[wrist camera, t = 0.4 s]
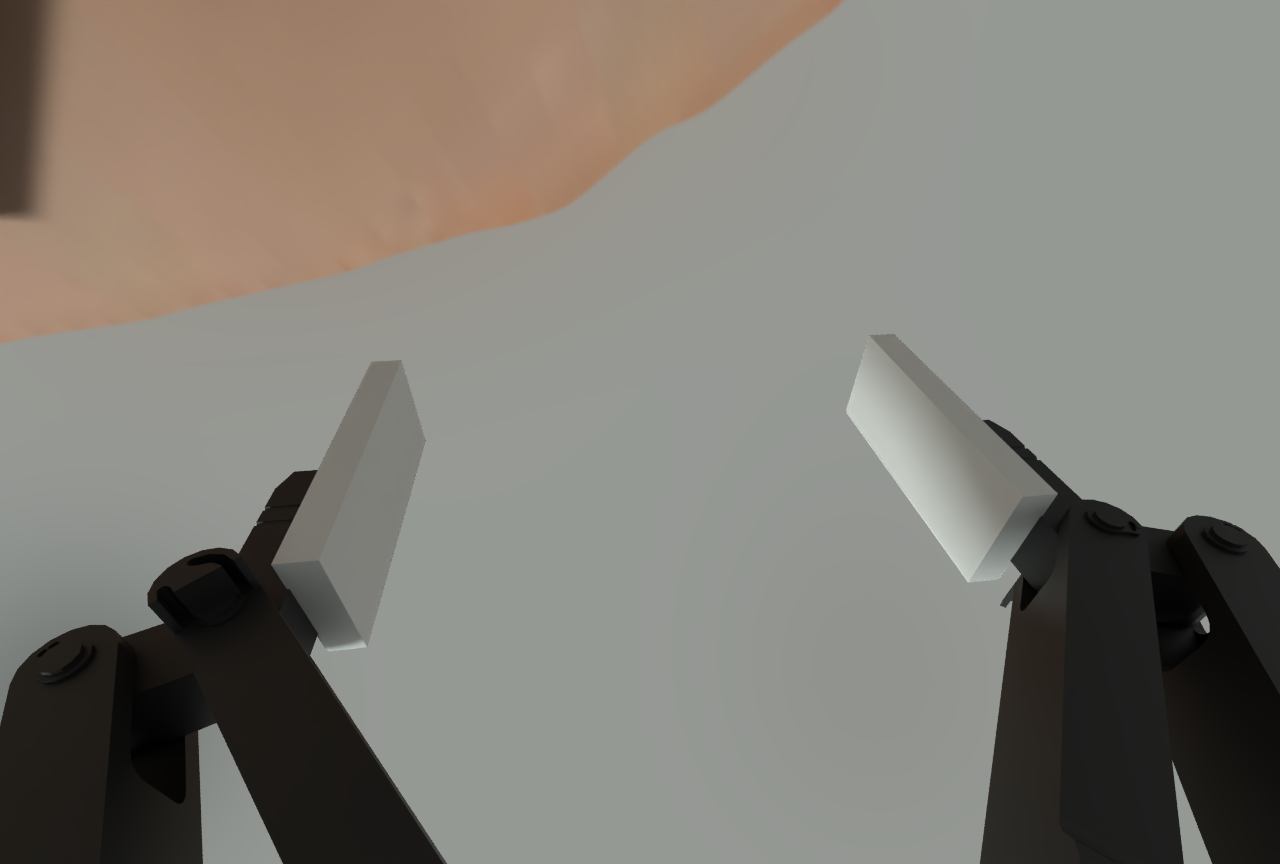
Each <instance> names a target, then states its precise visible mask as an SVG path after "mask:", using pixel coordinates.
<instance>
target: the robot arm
mask: <svg viewBox="0 0 1280 864" xmlns="http://www.w3.org/2000/svg"><path fill="white" fill-rule="evenodd" d="M846 413H847V414H848V415H849V417H850V418H851V420H852V421H853V422H854V424H855V425H856V427H857V428H858V429H859V431H860V432H861V433H862V435H863V436H864V438H865V439H866V440H867V442H868V443H869V445H870V446H871V448H872V449H873V450H874V452H875V453H876V454H877V456H878V457H879V459H880V460H881V462H882V463H883V464H884V466H885V467H886V469H887V470H888V471H889V473H890V474H891V475H892V477H893V478H894V479H895V481H896V482H897V484H898V485H899V487H900V488H901V489H902V491H903V492H904V494H905V495H906V496H907V498H908V499H909V501H910V502H911V503H912V505H913V506H914V508H915V509H916V510H917V512H918V513H919V514H920V516H921V517H922V519H923V520H924V522H925V523H926V524H927V526H928V527H929V529H930V530H931V531H932V533H933V534H934V536H935V537H936V538H937V540H938V541H939V543H940V544H941V545H942V547H943V548H944V549H945V551H946V552H947V554H948V555H949V556H950V558H951V559H952V561H953V562H954V563H955V565H956V566H957V568H958V569H959V570H960V572H961V573H962V575H963V576H964V577H965V579H966V580H967V582H978V581H988V580H997V579H1000V577H1001V576H1002V574H1003V573H1004V571H1005V570H1006V569H1007V567H1008V566H1009V564H1010V563H1011V562H1012V563H1013V564H1014V566H1015V567H1016V568H1017V569H1018V570H1019V572H1020V573H1021V575H1020V577H1019V578H1018V579H1017V581H1016V582H1015V584H1014V585H1013V586H1012V588H1011V589H1010V591H1009V592H1008V593H1007V595H1006V596H1005V598H1004V599H1003V601H1002V603H1001V606H1003V607H1006V606H1007V605H1008V604H1009V602H1010V601H1013V603H1012V611H1011V618H1010V627H1009V634H1008V643H1007V650H1006V659H1005V667H1004V674H1003V683H1002V690H1001V699H1000V707H999V715H998V723H997V731H996V739H995V747H994V755H993V763H992V772H991V779H990V787H989V795H988V804H987V811H986V819H985V827H984V835H983V843H982V851H981V860H980V864H1184V862H1183V853H1182V844H1181V835H1180V826H1179V818H1178V810H1177V800H1176V791H1175V783H1174V774H1173V766H1172V761H1173V763H1174V766H1175V768H1176V771H1177V774H1178V776H1179V779H1180V781H1181V784H1182V787H1183V789H1184V792H1185V794H1186V797H1187V800H1188V802H1189V804H1190V807H1191V810H1192V812H1193V815H1194V818H1195V820H1196V822H1197V825H1198V828H1199V831H1200V833H1201V836H1202V838H1203V841H1204V844H1205V846H1206V849H1207V851H1208V854H1209V856H1210V859H1211V862H1212V864H1280V568H1279V567H1278V566H1277V564H1276V563H1275V561H1274V560H1273V559H1272V557H1271V556H1270V554H1269V553H1268V552H1267V550H1266V549H1265V548H1264V547H1263V546H1262V545H1261V544H1260V542H1258V541H1257V540H1256V538H1254V537H1252V536H1251V535H1250V534H1248V533H1246V532H1245V531H1244V530H1243V529H1241V528H1239V527H1237V526H1236V525H1233V524H1231V523H1229V522H1226V521H1222V520H1219V519H1216V518H1212V517H1207V516H1198V515H1196V516H1191V517H1187V518H1186V519H1185V520H1184V521H1183V522H1182V524H1181V525H1180V526H1179V527H1178V528H1177V529H1176V530H1175V531H1169V530H1163V529H1156V528H1149V527H1143V526H1141V525H1140V524H1139V523H1138V522H1137V521H1136V520H1135V519H1134V518H1133V517H1132V516H1130V515H1129V514H1127V513H1126V512H1124V511H1123V510H1121V509H1119V508H1117V507H1114V506H1112V505H1110V504H1107V503H1104V502H1100V501H1096V500H1082V499H1081V498H1080V497H1079V496H1078V495H1077V494H1076V493H1074V492H1073V491H1072V490H1071V489H1070V488H1069V487H1068V486H1067V485H1066V484H1065V483H1064V482H1063V481H1062V480H1061V479H1060V478H1058V477H1057V476H1056V475H1055V474H1054V473H1053V472H1052V471H1051V470H1050V469H1049V468H1048V467H1047V466H1046V465H1045V464H1044V463H1042V462H1041V461H1040V460H1037V457H1036V456H1035V455H1034V454H1033V453H1032V452H1031V451H1030V450H1029V449H1025V446H1024V445H1023V444H1022V443H1021V442H1020V441H1019V440H1018V439H1017V438H1016V437H1015V436H1014V435H1013V434H1012V433H1011V432H1009V431H1008V430H1006V429H1004V428H1003V427H1001V426H999V425H997V424H995V423H994V422H992V421H990V420H981V418H980V417H978V416H977V415H976V414H975V413H974V412H973V411H972V410H971V409H970V408H969V407H968V406H967V405H966V404H965V403H964V402H963V401H962V400H961V399H960V398H959V397H958V396H957V395H956V394H955V393H954V392H953V391H952V390H951V389H950V388H949V387H948V386H947V385H945V383H943V381H942V380H941V379H939V378H938V377H937V376H936V375H935V374H934V373H933V372H932V371H931V370H930V369H929V368H928V367H927V366H926V365H925V364H924V363H923V362H922V361H921V360H920V359H919V358H918V357H917V356H916V355H915V354H914V353H913V352H912V351H911V350H910V349H909V348H908V347H907V346H906V345H905V344H904V343H902V341H900V340H899V339H898V338H897V337H896V336H895V335H894V334H886V335H869V338H868V341H867V344H866V347H865V351H864V354H863V357H862V361H861V364H860V367H859V370H858V373H857V377H856V380H855V383H854V387H853V390H852V393H851V396H850V400H849V403H848V406H847V410H846ZM424 444H425V437H424V434H423V430H422V427H421V424H420V420H419V417H418V414H417V410H416V407H415V404H414V400H413V397H412V394H411V391H410V387H409V384H408V380H407V377H406V374H405V370H404V367H403V364H402V361H401V360H397V361H378V362H371V364H370V366H369V368H368V370H367V372H366V374H365V376H364V378H363V380H362V382H361V384H360V386H359V388H358V390H357V392H356V394H355V396H354V398H353V400H352V402H351V404H350V406H349V408H348V410H347V412H346V414H345V416H344V418H343V420H342V422H341V424H340V426H339V428H338V430H337V432H336V434H335V436H334V438H333V440H332V442H331V445H330V446H329V448H328V451H327V453H326V455H325V457H324V459H323V461H322V463H321V465H320V467H319V469H318V470H313V471H299V472H293V473H292V474H291V475H290V476H289V477H288V478H287V479H286V480H285V481H284V482H282V483H281V484H280V485H279V486H278V487H277V488H276V489H275V490H274V492H273V494H272V496H271V497H270V499H269V501H268V503H267V504H266V506H265V511H263V512H262V514H261V515H260V517H259V519H258V521H257V526H254V528H253V529H252V531H251V533H250V535H249V536H248V538H247V540H246V542H245V544H244V545H243V547H242V549H241V551H240V552H239V554H238V553H237V552H235V551H234V550H233V549H225V548H214V549H207V550H202V551H199V552H197V553H194V554H192V555H189V556H187V557H184V558H183V559H181V560H179V561H178V562H176V563H175V564H173V565H171V566H170V567H168V568H167V569H166V570H165V571H164V572H163V573H162V574H161V575H160V576H159V577H158V578H157V579H156V580H155V581H154V583H153V585H152V587H151V588H150V590H149V592H148V606H149V607H150V608H151V609H152V610H153V611H154V612H155V613H156V614H157V616H158V617H159V618H160V619H161V620H162V621H163V622H164V624H161V625H158V626H155V627H152V628H149V629H146V630H143V631H140V632H137V633H134V634H131V635H128V636H125V637H122V636H121V635H119V634H118V633H117V632H116V631H115V630H113V629H112V628H110V627H108V626H106V625H88V626H85V627H81V628H77V629H74V630H71V631H68V632H66V633H64V634H62V635H60V636H58V637H56V638H54V639H52V640H50V641H49V642H47V643H46V644H45V645H44V646H42V647H41V648H39V649H38V650H37V651H35V652H34V653H32V654H31V655H30V656H29V658H28V659H27V660H26V661H25V662H24V663H23V664H22V665H21V666H20V667H19V668H18V669H17V671H16V673H15V675H14V677H13V679H12V681H11V683H10V686H9V690H8V695H7V699H6V703H5V708H4V712H3V716H2V721H1V725H0V864H203V858H202V856H203V855H202V830H201V829H202V828H201V803H200V802H201V801H200V772H199V745H198V730H200V729H202V728H205V727H207V726H210V725H212V724H215V723H217V724H218V726H219V728H220V731H221V733H222V735H223V737H224V739H225V741H226V743H227V746H228V748H229V750H230V752H231V754H232V756H233V758H234V760H235V762H236V765H237V767H238V769H239V771H240V773H241V775H242V777H243V780H244V782H245V784H246V786H247V788H248V790H249V792H250V794H251V797H252V799H253V801H254V803H255V805H256V807H257V809H258V811H259V814H260V816H261V818H262V820H263V822H264V824H265V826H266V828H267V831H268V833H269V835H270V837H271V839H272V841H273V843H274V845H275V847H276V850H277V852H278V854H279V856H280V858H281V860H282V862H283V864H447V863H446V862H445V860H444V858H443V857H442V855H441V854H440V852H439V851H438V849H437V848H436V846H435V845H434V843H433V842H432V840H431V839H430V837H429V836H428V834H427V833H426V831H425V829H424V828H423V826H422V825H421V823H420V822H419V820H418V819H417V817H416V816H415V814H414V813H413V811H412V810H411V808H410V807H409V805H408V804H407V802H406V801H405V799H404V798H403V796H402V795H401V793H400V792H399V790H398V788H397V787H396V786H395V784H394V783H393V781H392V779H391V778H390V776H389V775H388V773H387V772H386V770H385V769H384V767H383V766H382V764H381V763H380V761H379V760H378V758H377V757H376V755H375V754H374V752H373V750H372V749H371V747H370V746H369V744H368V743H367V741H366V740H365V738H364V737H363V735H362V734H361V732H360V731H359V729H358V728H357V726H356V725H355V723H354V722H353V720H352V719H351V717H350V716H349V714H348V712H347V711H346V709H345V708H344V706H343V705H342V703H341V702H340V700H339V699H338V698H337V696H336V694H335V693H334V691H333V690H332V688H331V687H330V685H329V684H328V682H327V680H326V679H325V677H324V676H323V674H322V673H321V671H320V670H319V668H318V667H317V665H316V664H315V662H314V661H313V659H312V658H311V656H310V654H311V651H312V649H313V646H314V643H315V640H316V638H317V636H318V638H319V640H320V641H321V643H322V644H323V646H324V647H325V649H326V650H327V651H336V650H345V649H354V648H364V647H367V646H368V642H369V638H370V635H371V631H372V628H373V624H374V621H375V617H376V614H377V610H378V607H379V603H380V599H381V596H382V593H383V589H384V585H385V582H386V579H387V575H388V571H389V568H390V564H391V561H392V557H393V554H394V550H395V546H396V543H397V540H398V536H399V533H400V529H401V526H402V522H403V519H404V515H405V511H406V508H407V504H408V501H409V497H410V494H411V490H412V486H413V483H414V480H415V476H416V473H417V469H418V465H419V462H420V459H421V455H422V451H423V448H424ZM1206 615H1207V617H1208V620H1209V623H1210V632H1209V633H1206V631H1205V630H1204V628H1203V626H1202V624H1201V622H1200V621H1201V620H1202V619H1203V618H1204V617H1205V616H1206Z"/></svg>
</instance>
